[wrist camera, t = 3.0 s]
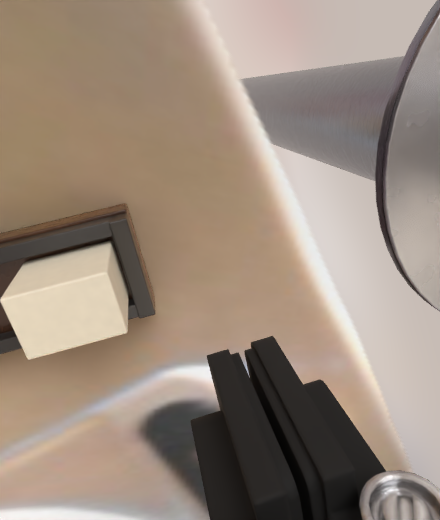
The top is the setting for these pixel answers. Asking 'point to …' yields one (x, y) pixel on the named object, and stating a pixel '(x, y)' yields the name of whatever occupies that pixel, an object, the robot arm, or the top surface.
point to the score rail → (69, 238)
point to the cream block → (68, 300)
